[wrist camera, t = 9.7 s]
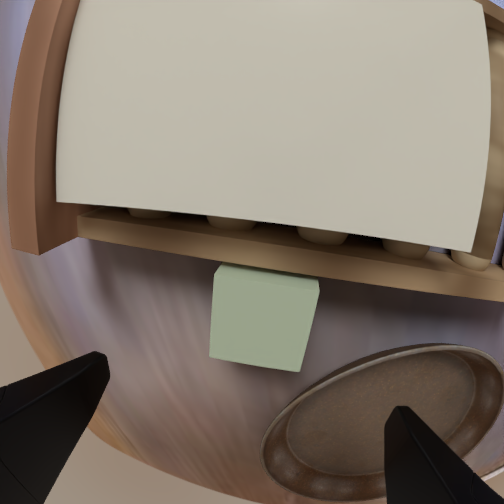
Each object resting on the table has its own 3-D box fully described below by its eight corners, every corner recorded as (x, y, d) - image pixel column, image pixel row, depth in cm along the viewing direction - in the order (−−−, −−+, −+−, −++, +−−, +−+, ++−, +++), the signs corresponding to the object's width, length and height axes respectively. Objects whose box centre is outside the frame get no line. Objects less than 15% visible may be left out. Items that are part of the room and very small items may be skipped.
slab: (456, 22, 8) (482, 4, 6) (443, 234, 11) (470, 252, 9) (113, -1, 10) (86, -19, 7) (90, 192, 13) (56, 201, 10)
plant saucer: (485, 430, 18) (495, 452, 15) (311, 492, 22) (310, 517, 19) (483, 269, 14) (510, 290, 11) (218, 377, 18) (206, 410, 16)
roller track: (538, 64, 9) (599, 52, 3) (512, 283, 14) (567, 331, 8) (115, -11, 11) (56, -50, 6) (85, 217, 16) (12, 248, 10)
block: (314, 256, 15) (319, 291, 11) (299, 325, 16) (299, 372, 13) (234, 244, 15) (214, 274, 12) (227, 313, 17) (209, 357, 13)
